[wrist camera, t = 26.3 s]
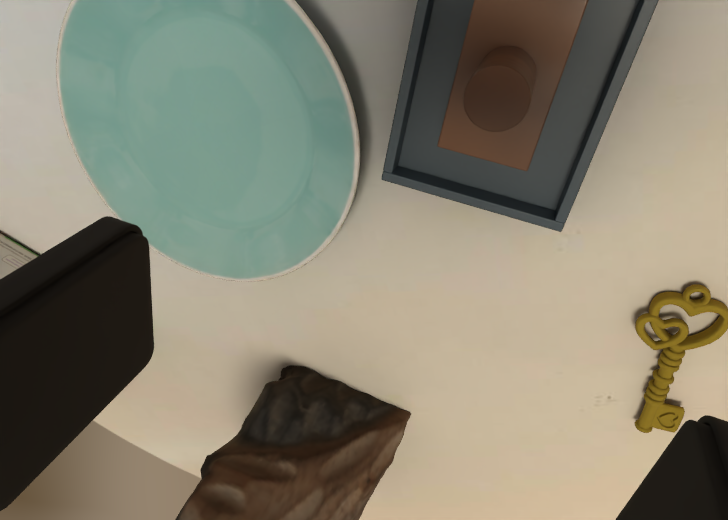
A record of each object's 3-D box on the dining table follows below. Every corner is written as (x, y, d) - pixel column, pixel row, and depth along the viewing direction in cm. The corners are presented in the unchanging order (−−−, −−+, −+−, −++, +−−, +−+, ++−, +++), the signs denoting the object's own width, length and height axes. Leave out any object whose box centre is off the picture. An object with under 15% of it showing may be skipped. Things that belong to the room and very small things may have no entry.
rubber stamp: (492, -40, 28) (467, -32, 21) (590, -18, 28) (598, -3, 21) (448, 128, 33) (416, 179, 26) (530, 151, 32) (520, 210, 25)
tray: (447, -107, 28) (440, -110, 26) (677, -62, 26) (684, -62, 25) (389, 168, 36) (380, 179, 35) (561, 217, 34) (561, 232, 33)
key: (678, 443, 38) (601, 424, 39) (674, 430, 39) (599, 411, 40) (745, 299, 32) (652, 281, 33) (739, 287, 33) (649, 271, 34)
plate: (122, 245, 47) (99, 261, 45) (42, -57, 36) (6, -56, 34) (374, 284, 41) (362, 305, 39) (370, -64, 30) (354, -64, 28)
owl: (349, 486, 53) (251, 731, 37) (239, 413, 53) (91, 627, 37) (417, 417, 46) (334, 683, 30) (290, 333, 46) (136, 554, 30)
